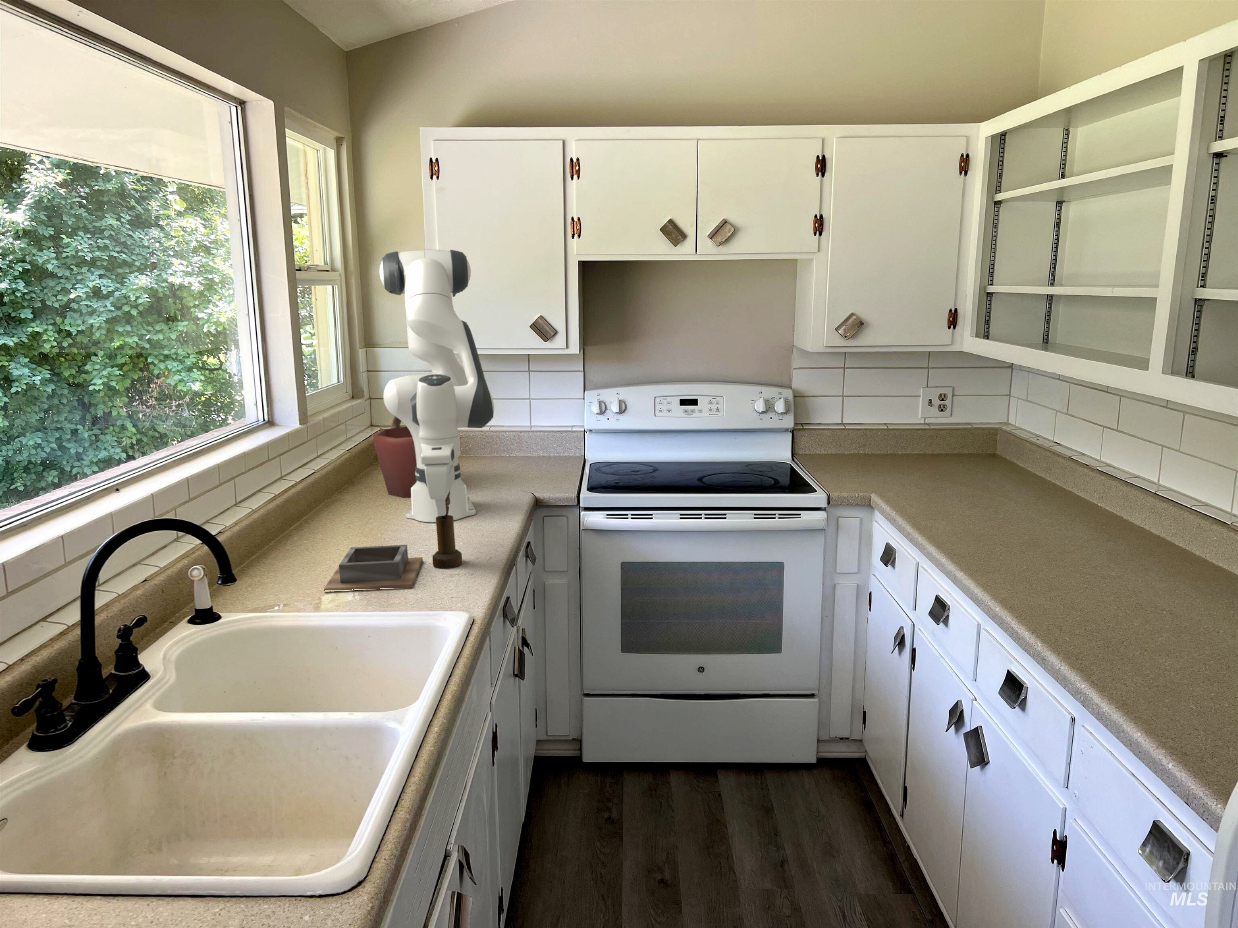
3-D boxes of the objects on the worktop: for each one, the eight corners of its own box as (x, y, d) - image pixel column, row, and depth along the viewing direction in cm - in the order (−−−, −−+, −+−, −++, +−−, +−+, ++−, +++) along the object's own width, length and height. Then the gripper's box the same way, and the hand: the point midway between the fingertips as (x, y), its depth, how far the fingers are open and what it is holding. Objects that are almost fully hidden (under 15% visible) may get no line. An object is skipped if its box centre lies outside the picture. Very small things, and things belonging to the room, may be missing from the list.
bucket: (461, 495, 263) (456, 412, 257) (386, 505, 253) (379, 419, 248) (440, 479, 284) (435, 402, 279) (371, 487, 275) (364, 408, 270)
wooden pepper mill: (449, 557, 205) (444, 482, 201) (468, 562, 201) (463, 486, 197) (427, 565, 200) (421, 488, 196) (445, 570, 196) (440, 492, 192)
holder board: (342, 565, 201) (341, 544, 200) (422, 561, 202) (421, 540, 201) (324, 592, 183) (321, 570, 182) (411, 588, 185) (410, 565, 184)
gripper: (431, 441, 204) (435, 499, 207) (419, 458, 184) (424, 522, 187) (458, 440, 205) (462, 498, 207) (449, 456, 185) (454, 520, 187)
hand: (444, 509), depth 197 cm, fingers open, 8 cm apart
